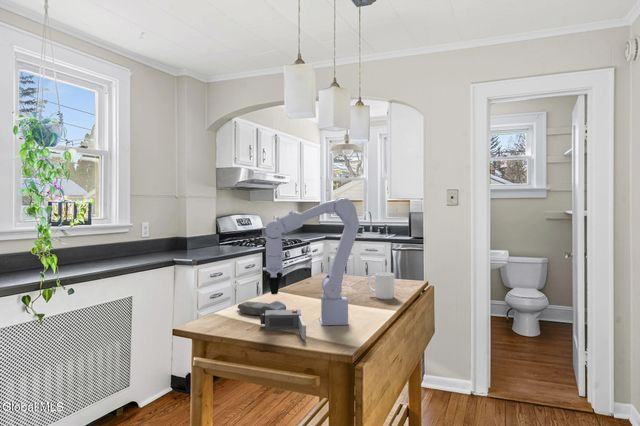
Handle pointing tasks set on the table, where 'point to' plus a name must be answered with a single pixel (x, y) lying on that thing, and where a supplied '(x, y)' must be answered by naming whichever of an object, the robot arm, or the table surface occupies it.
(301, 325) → the side door
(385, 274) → the mug
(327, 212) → the robot arm
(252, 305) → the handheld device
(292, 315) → the camera body
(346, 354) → the table surface
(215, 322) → the table surface
